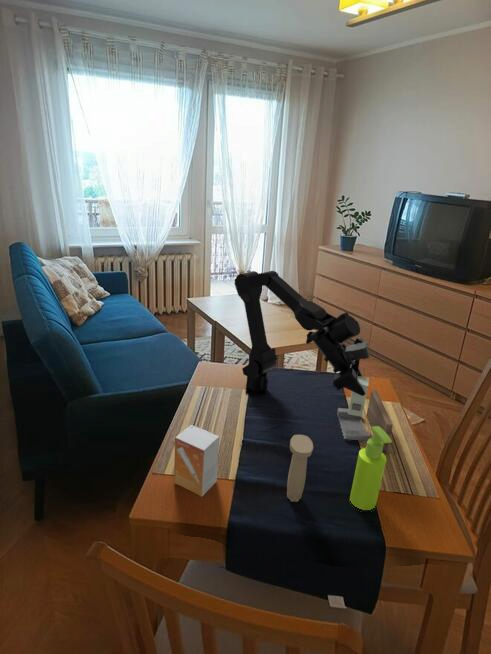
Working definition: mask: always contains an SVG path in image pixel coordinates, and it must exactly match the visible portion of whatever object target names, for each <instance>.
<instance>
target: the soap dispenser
mask: <svg viewBox="0 0 491 654" xmlns="http://www.w3.org/2000/svg"><path fill="white" fill-rule="evenodd" d="M370 430H371V431H373V432H374V433H373V432H372V437H370V439H368V441H367V442H366V447H364V448H361V449H360V450H359V452H358V456H357V461H356V465H355V471H354V475H353V480H352V485H351V490H350V496H349V502H350V501H351V503H352V504H353V505H354V506H355V507H357V508H359V509H362V510H371V509H373V508H375V509H376V507H377V502H378V498H379V495H380V489H381V485H382V481H383V477H384V472H385V468H386V464H387V457H386V455H385V454H384V453H382V450H383V443H390V444H391V443H393V440H392V439H391V436H390V437H389V436H388V435H387V433H386V432H385V431H384V430H383V429H382V428H380V427H379V426H374V427H371V426H370ZM351 503H350V504H351ZM375 506H376V507H375Z"/></svg>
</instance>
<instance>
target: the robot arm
mask: <svg viewBox="0 0 491 654" xmlns="http://www.w3.org/2000/svg"><path fill="white" fill-rule="evenodd" d="M234 286H235V289H236V292H237V293H236V294H237V296H238V297H239V298H240V299H241V300H242V301H243V305H244V309H245V310H244V311H245V316H246V319H247V326H248V331H249V336H250V337H249V338H250V342H251V349H250V353H249V355H248V358H249V359H248V360H249V363H248V364H247V365H245V366H243V367H242V374H243V376H246V383H245V394H248V395H249V394H250V395H259V396H265V395H266V392H267V391H268V384H269V377H268V375H267V374H268V373H271V371H272V370H273V369H274V368H275V367H276V366H277V361H278V358H277V355H276V348H275V347H272V346H270V345H269V344H268V339H267V335H266V329H265V324H264V317H263V312H262V306H261V300H260V299H261V296H262V292H263V286H264V287H265V288H267V289H268V290H270V291H271V292H272V293H273V294H274V295H275V296H276V297H277V298H278V299H279V300H280V301H281V302H282V303H283V304H284V305H286V306H287V307H288V308H289V309H290V311H291V312H292V313H293V314H294V317H295V318H294V319H295V320H296V321H297V322H298V323H299V325H300V326H301V328H302V329H304V330H305V331H309V332H308V333H307V334H306V341H305V344H306V345H308V344H311V343H314V345H315V346H316V347H317V348H318V350H319V351H320V352H321V354H322V355H323V356H324V358H323V360H324V361H325V362H326V363H327V362H329V364H330V365H331V366H332V368H333V369H332V371H333V373H334V377H333V381H332V386H333V388H334V389H335V391H339V390H342V389H343V388H344V389H347V390H349V391H351V392H352V391H353V392H355V393H357V394H359V395H361V396H364V395H365V392H364V390H363V388H362V386H361V384H360V383H359V381H358V379H357V377H358V376H361V377H364V376H363V373H362V372H361V370H360V363H361V362H360V361H361V360H366V359H368V358H370V349H369V345H368V343H367V341H366V340H363V339H362V337H360V336H359V335H360V333H361V325H360V324H359V322H358V320H357V319H356V318H354V317H353V316H352V315H349V313H348V312H347V311H346V312H344V313H341V314H340V315H338V317H336V316H334V315H332V314H330V313H329V312H328V311H326V309H325V308H323V307H322V306H320V305H319V304H317V303H316V302H313V301H311V300H308V299H306V298H305V297H303V296H302V295H301V294H300V293H299V292H298V291H297V290H295V289H294V287H292V286H291V285H289V284H288V283H287V282H286V280H284V279H283V278H282V277H281V276H280V275H279V273H278V272H277V271H275V270H269V271H265V272H260V273H259V272H257V271H255V270H253V271H252V270H251V271H248V272H243V273H239V274H238V275H237V276H236V277H235V279H234ZM314 330H316V331H314ZM356 336H359V337H356ZM354 337H355V338H354ZM353 338H354V341H353V343H350V345H347V344H346V343H345V342H346V341H349V340H350V339H353ZM271 347H272V348H271Z"/></svg>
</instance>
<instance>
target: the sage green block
mask: <svg viewBox="0 0 491 654" xmlns="http://www.w3.org/2000/svg"><path fill="white" fill-rule="evenodd" d="M357 379H358V381H359V383H360V384H361V386H362V388H363V390H364V392H365V395H364V396H361V395H359V394H357V393H355V392H353V391H351V393H350V398H349V403H348V408H347V409H348V414H350V415H355V416H359V417H361V418H362V417H363V413H364V409H365V405H366V401H367V400H366V399H367V396H368V389H369V383H370V381H369V380H370V378H369V377H366V376H363V377H361V376H358V377H357Z"/></svg>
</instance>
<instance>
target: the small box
mask: <svg viewBox="0 0 491 654" xmlns="http://www.w3.org/2000/svg"><path fill="white" fill-rule="evenodd" d="M219 447H220V436H219V435H216V434H214V433H212V432H210V431H209V430H208V431H207V430H205V429H203V428H200V427H198V426H196V425H193V424H190V425H189V426H188V427H186V428H185V429H184V430H182V431H181V432H180V433H178V434H177V436H175V437H174V462H173V463H174V466H173V467H174V469H173V484H175V485H177V486H179V487H181V488H183V489H186V490H188V491H189V492H192V493H193V494H195V495H197V496H199V497H201V498H203V496H204V495H205V494H206V493H207V492H208V491H209V490H210V489H211V488H212V487H213V486H214V485H215V484H216V483H217V481H218V479H217V478H218V468H219V467H218V464H219V453H220V450H219V449H220V448H219Z"/></svg>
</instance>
